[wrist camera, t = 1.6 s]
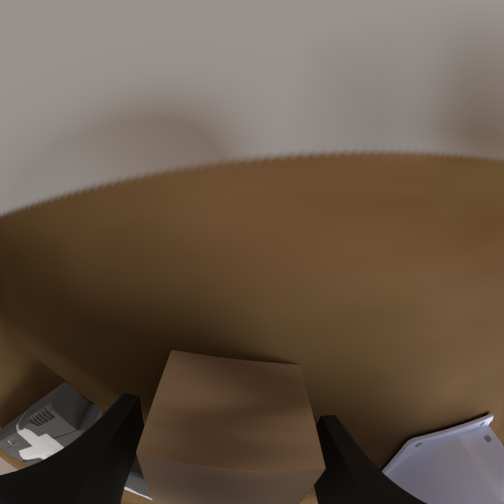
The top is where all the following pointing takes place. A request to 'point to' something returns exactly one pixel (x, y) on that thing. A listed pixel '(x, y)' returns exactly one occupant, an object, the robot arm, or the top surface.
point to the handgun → (58, 431)
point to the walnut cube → (229, 433)
